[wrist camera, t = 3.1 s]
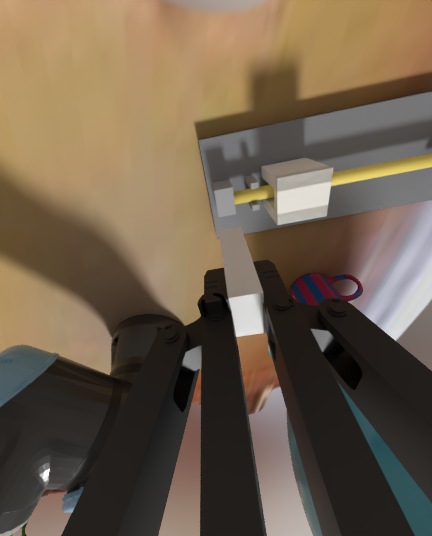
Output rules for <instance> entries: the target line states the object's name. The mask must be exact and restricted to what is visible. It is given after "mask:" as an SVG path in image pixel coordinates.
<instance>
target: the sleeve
mask: <svg viewBox="0 0 432 536" xmlns="http://www.w3.org/2000/svg"><path fill="white" fill-rule="evenodd" d="M261 172H262V178H263V179H264V180H265V181H266V182H267V183H268V184H269V185H270V186H272V187H273V188H274V197H272V198H267V199H263V206H264V208H265V209H266V210H267V212H268V213H269V214H270V216H271V217H272V219H273V220H274V221H275V223H276V224H277V225H282V224H287V223H293V222H298V221H304V220H309V219H315V218H320V217H325V216H327V210H328V203H329V196H330V189H331V182H332V175H333V167H331V166H328V165H325V164H322V163H319V162H316V161H314V160H311V159H308V158H301V159H296V160H291V161H286V162H281V163H276V164H271V165H265V166H261Z"/></svg>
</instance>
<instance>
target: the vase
mask: <svg viewBox="0 0 432 536" xmlns="http://www.w3.org/2000/svg"><path fill="white" fill-rule="evenodd" d="M269 355H270V356H272V355H271V352H270V353H269ZM337 382H338V381H337ZM338 384H339V383H338ZM339 386H340V388H341V390H342V392H343V394H344V396H345V398H346V400H347V402H348V404H349V406H350V408H351V410H352V412H353V414H354V416H355V418H356V420H357V422H358V424H359V426H360V428H361V430H362V432H363V434H364V436H365V438H366V440H367V442H368V444H369V446H370V448H371V450H372V451H373V453H374V455H375V457H376V459H377V461H378V463H379V465H380V467H381V469H382V471H383V473H384V475H385V477H386V479H387V481H388V483H389V485H390V487H391V489H392V491H393V493H394V495H395V497H396V499H397V501H398V503H399V505H400V507H401V509H402V511H403V513H404V515H405V517H406V519H407V521H408V523H409V525H410V527H411V529H412V531H413V533H414V535H415V536H432V503H431V502H430V500H429V499H428V498H427V496H426V495H425V494H424V493H423V491H422V490H421V489H420V487H419V486H418V485H417V484H416V482H415V481H414V480H413V478H412V477H411V476H410V475H409V473H408V472H407V471H406V469H405V468H404V467H403V465H402V464H401V463H400V462H399V460H398V459H397V458H396V456H395V455H394V454H393V453H392V451H391V450H390V449H389V447H388V446H387V445H386V443H385V442H384V441H383V440H382V438H381V437H380V436H379V434H378V433H377V432H376V431H375V429H374V428H373V427H372V425H371V424H370V423H369V422H368V420H367V419H366V418H365V416H364V415H363V414H362V412H361V411H360V410H359V409H358V407H357V406H356V405H355V403H354V402H353V401H352V400H351V398H350V397H349V396H348V394H347V393H346V392H345V390H344V389H343V388H342V387H341V385H340V384H339ZM287 433H288V442H289V449H290V456H291V461H292V466H293V471H294V475H295V479H296V483H297V486H298V491H299V494H300V498H301V501H302V504H303V507H304V510H305V513H306V517H307V520H308V523H309V525H310V528H311V531H312V534H313V536H323V535H322V532H321V528H320V525H319V521H318V518H317V514H316V511H315V507H314V504H313V500H312V496H311V493H310V489H309V486H308V482H307V479H306V475H305V472H304V468H303V465H302V461H301V458H300V454H299V451H298V447H297V443H296V440H295V436H294V433H293V429H292V426H291V422H290V419H289V415H288V412H287Z"/></svg>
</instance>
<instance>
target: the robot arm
mask: <svg viewBox="0 0 432 536" xmlns="http://www.w3.org/2000/svg"><path fill="white" fill-rule="evenodd" d="M219 235H220V242H221V249H222V257H223V264H224V268H219V269H213V270H208V271H207V272H206V274H205V276H204V295H203V296H202V297H201V298H200V299H199V301H198V307H199V310H200V313H201V317H200V318H199V319H198V320H196V321H195V322H193V323H191V324H189V325H186V326H183V325H182V324H180V323H178V322H176V321H175V320H172V319H170V318H167V317H163V316H158V315H140V316H135V317H132V318H129V319H127V320H125V321H124V322H122V323H121V324H120V325H119V326H118V327H117V329H116V331H115V334H114V336H113V339H112V344H111V373H110V375H107V374H105V373H102V372H100V371H97V370H94V369H92V368H89V367H87V366H84V365H82V364H79V363H77V362H74V361H71V360H69V359H66V358H64V357H61V356H59V354H57V353H50V352H47V351H44V350H41V349H38V348H35V347H32V346H28V345H17V346H13V347H10V348H8V349H6V350H4V351H3V352H1V353H0V536H10V535H11V534H13V533H14V532H16V531H17V530H19V529H20V528H21V527H22V526H23V525H24V524H25V523H26V522H27V521H28V519H29V518H30V516H31V514H32V512H33V510H34V508H35V507H36V505H37V503H38V501H39V499H40V498H41V496H42V494H43V493H44V491H45V490H46V489H54V490H55V489H57V490H66V491H67V493H66V494H65V495H64V497H63V507H62V509H63V512H66V513H68V512H70V513H72V514H71V516H70V518H69V520H68V523H67V525H66V527H65V529H64V531H63V533H62V535H61V536H158V534H159V530H160V526H161V522H162V518H163V514H164V510H165V506H166V502H167V498H168V493H169V490H170V486H171V482H172V478H173V474H174V470H175V466H176V462H177V458H178V454H179V450H180V446H181V442H182V438H183V434H184V430H185V426H186V422H187V418H188V414H189V410H190V406H191V402H192V398H193V394H194V390H195V386H196V382H197V378H198V374H199V370H200V368H201V497H200V498H201V501H200V536H267V534H266V528H265V521H264V515H263V509H262V502H261V495H260V488H259V482H258V475H257V469H256V463H255V456H254V450H253V443H252V437H251V430H250V423H249V416H248V410H247V403H246V397H245V390H244V384H243V377H242V371H241V364H240V357H239V351H238V345H237V339H236V337H239V336H246V335H253V334H259V333H266V332H267V335H268V352H271V355H272V359H273V362H274V366H275V369H276V373H277V376H278V380H279V383H280V387H281V390H282V394H283V397H284V401H285V405H286V408H287V412H288V415H289V419H290V422H291V426H292V429H293V433H294V436H295V440H296V443H297V447H298V451H299V454H300V458H301V461H302V465H303V468H304V472H305V475H306V479H307V482H308V486H309V489H310V493H311V496H312V500H313V504H314V507H315V511H316V514H317V518H318V521H319V525H320V528H321V532H322V535H323V536H415V535H414V533H413V531H412V529H411V527H410V525H409V523H408V521H407V519H406V517H405V515H404V513H403V511H402V509H401V507H400V505H399V503H398V501H397V499H396V497H395V495H394V493H393V491H392V489H391V487H390V485H389V483H388V481H387V479H386V477H385V475H384V473H383V471H382V469H381V467H380V465H379V463H378V461H377V459H376V457H375V455H374V453H373V451H372V450H371V448H370V446H369V444H368V442H367V440H366V438H365V436H364V434H363V432H362V430H361V428H360V426H359V424H358V422H357V420H356V418H355V416H354V414H353V412H352V410H351V408H350V406H349V404H348V402H347V400H346V398H345V396H344V394H343V392H342V390H341V388H340V386H339V384H340V385H341V387H342V388H343V389H344V390H345V392H346V393H347V394H348V396H349V397H350V398H351V400H352V401H353V402H354V403H355V405H356V406H357V407H358V409H359V410H360V411H361V412H362V414H363V415H364V416H365V418H366V419H367V420H368V422H369V423H370V424H371V425H372V427H373V428H374V429H375V431H376V432H377V433H378V434H379V436H380V437H381V438H382V440H383V441H384V442H385V443H386V445H387V446H388V447H389V449H390V450H391V451H392V453H393V454H394V455H395V456H396V458H397V459H398V460H399V462H400V463H401V464H402V465H403V467H404V468H405V469H406V471H407V472H408V473H409V475H410V476H411V477H412V478H413V480H414V481H415V482H416V484H417V485H418V486H419V487H420V489H421V490H422V491H423V493H424V494H425V495H426V496H427V498H428V499H429V500H430V502H431V503H432V371H431V370H430V369H428V368H427V367H426V366H425V365H424V364H422V363H421V362H420V361H419V360H418V359H416V358H415V357H414V356H413V355H412V354H410V353H409V352H408V351H407V350H405V349H404V348H403V347H402V346H401V345H400V344H398V343H397V342H396V341H395V340H394V339H392V338H391V337H390V336H389V335H388V334H386V333H385V332H384V331H383V330H382V329H380V328H379V327H378V326H377V325H376V324H374V323H373V322H372V321H371V320H370V319H368V318H367V317H366V316H365V315H364V314H362V313H361V312H360V311H359V310H358V309H356V308H355V307H354V306H353V305H352V304H350V303H349V302H347V301H345V300H342V299H339V298H328V299H325V300H323V301H321V303H320V304H319V306H318V305H307V304H302V303H299V302H297V301H296V300H295V299H294V298H293V297H291V296H290V295H289V294H288V292H287V290H286V288H285V286H284V284H283V282H282V279H281V277H280V276H279V273H278V271H277V269H276V267H275V265H274V264H273V263H272V262H271V261H269V260H263V261H257V262H253V261H252V258H251V255H250V252H249V249H248V246H247V243H246V240H245V237H244V234H243V232H242V229H241V227H236V228H230V229H225V230H219ZM265 329H266V332H265ZM337 381H338V382H337ZM338 383H339V384H338Z"/></svg>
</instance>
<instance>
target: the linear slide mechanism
mask: <svg viewBox="0 0 432 536" xmlns="http://www.w3.org/2000/svg"><path fill="white" fill-rule="evenodd" d="M199 145H200V151H201V156H202V161H203V166H204V171H205V177H206V182H207V187H208V192H209V198H210V203H211V208H212V213H213V219H214V224H215V229H216V234H217V239H220V235H219V230H225V229H230V228H236V227H241V229H242V232H243V234H248V233H253V232H259V231H264V230H270V229H275V228H281V227H286V226H292V225H297V224H303V223H308V222H314V221H319V220H325V219H330V218H336V217H341V216H346V215H352V214H357V213H363V212H368V211H374V210H379V209H385V208H390V207H396V206H401V205H407V204H412V203H418V202H423V201H428V200H432V91H428V92H423V93H418V94H414V95H409V96H404V97H399V98H394V99H390V100H385V101H380V102H375V103H371V104H366V105H361V106H356V107H352V108H347V109H342V110H337V111H333V112H328V113H323V114H318V115H313V116H309V117H304V118H299V119H294V120H290V121H285V122H280V123H275V124H271V125H266V126H261V127H256V128H252V129H247V130H242V131H237V132H232V133H228V134H223V135H218V136H213V137H209V138H204V139H199ZM301 158H308V159H311V160H314V161H316V162H319V163H322V164H325V165H328V166H331V167H333V175H332V182H331V189H330V196H329V203H328V210H327V216H325V217H320V218H315V219H309V220H304V221H298V222H293V223H287V224H282V225H277V224H276V223H275V221H274V220H273V219H272V217H271V216H270V214H269V213H268V212H267V210H266V209H265V208H264V206H263V199H267V198H272V197H274V188H273V187H272V186H270V185H269V184H268V183H267V182H266V181H265V180H264V179H263V178H262V172H261V166H265V165H271V164H276V163H281V162H286V161H291V160H296V159H301Z"/></svg>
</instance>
